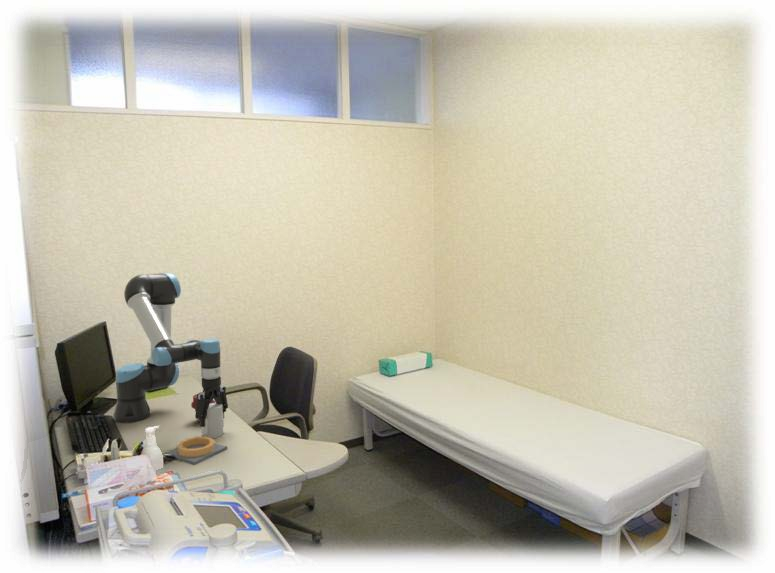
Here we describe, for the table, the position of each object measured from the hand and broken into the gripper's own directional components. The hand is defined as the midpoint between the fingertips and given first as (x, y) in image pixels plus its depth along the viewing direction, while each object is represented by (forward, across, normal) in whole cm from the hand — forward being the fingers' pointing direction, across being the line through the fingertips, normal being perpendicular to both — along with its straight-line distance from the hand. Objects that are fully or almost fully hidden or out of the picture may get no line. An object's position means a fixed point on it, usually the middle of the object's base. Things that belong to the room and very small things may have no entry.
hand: (212, 430), depth 226 cm
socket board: (+2, -16, -8) cm, 18 cm away
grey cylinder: (+2, 0, 0) cm, 2 cm away
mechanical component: (+2, +10, +16) cm, 19 cm away
